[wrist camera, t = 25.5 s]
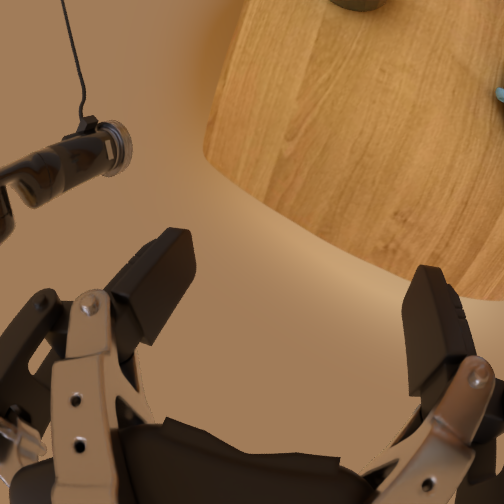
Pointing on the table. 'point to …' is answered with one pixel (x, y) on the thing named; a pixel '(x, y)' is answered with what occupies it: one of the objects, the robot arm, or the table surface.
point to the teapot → (500, 94)
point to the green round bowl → (359, 4)
